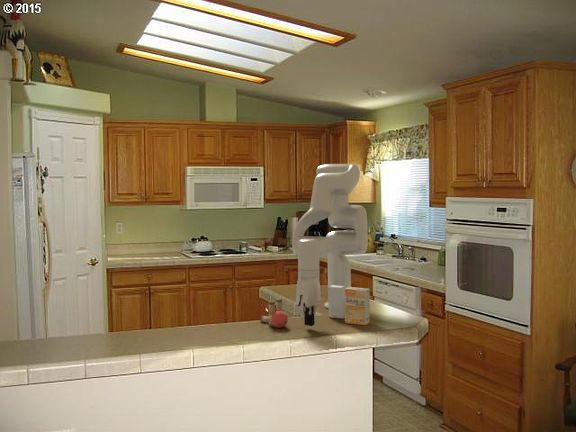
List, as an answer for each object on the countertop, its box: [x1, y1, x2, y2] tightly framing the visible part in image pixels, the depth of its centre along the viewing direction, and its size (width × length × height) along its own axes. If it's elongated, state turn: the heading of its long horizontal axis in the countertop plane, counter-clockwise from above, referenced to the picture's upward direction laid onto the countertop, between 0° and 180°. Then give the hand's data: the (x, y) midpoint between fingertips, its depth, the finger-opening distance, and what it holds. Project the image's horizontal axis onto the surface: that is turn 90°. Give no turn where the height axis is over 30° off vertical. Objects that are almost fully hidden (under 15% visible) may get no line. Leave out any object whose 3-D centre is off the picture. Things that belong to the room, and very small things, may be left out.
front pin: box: [259, 315, 269, 324], centre depth 222 cm, size 2×2×9 cm
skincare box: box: [327, 285, 346, 320], centre depth 229 cm, size 6×4×12 cm
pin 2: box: [275, 298, 283, 312], centre depth 222 cm, size 2×2×9 cm
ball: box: [271, 310, 289, 329], centre depth 215 cm, size 6×6×6 cm
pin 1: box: [268, 300, 276, 327], centre depth 218 cm, size 2×2×9 cm
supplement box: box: [344, 286, 371, 326], centre depth 219 cm, size 8×5×13 cm, turn 62°
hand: (309, 325), depth 212 cm, fingers closed
